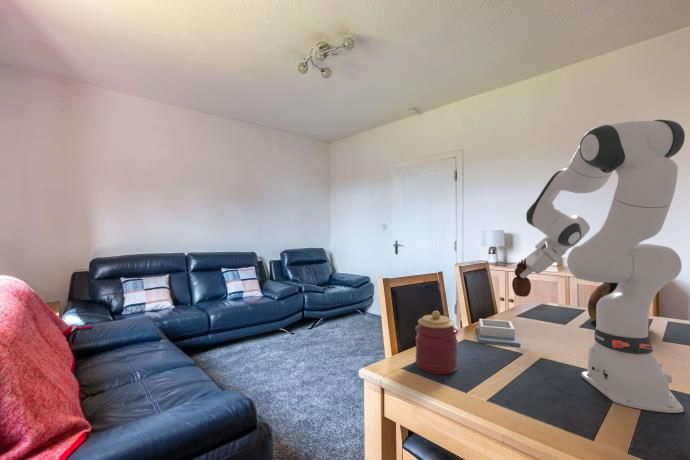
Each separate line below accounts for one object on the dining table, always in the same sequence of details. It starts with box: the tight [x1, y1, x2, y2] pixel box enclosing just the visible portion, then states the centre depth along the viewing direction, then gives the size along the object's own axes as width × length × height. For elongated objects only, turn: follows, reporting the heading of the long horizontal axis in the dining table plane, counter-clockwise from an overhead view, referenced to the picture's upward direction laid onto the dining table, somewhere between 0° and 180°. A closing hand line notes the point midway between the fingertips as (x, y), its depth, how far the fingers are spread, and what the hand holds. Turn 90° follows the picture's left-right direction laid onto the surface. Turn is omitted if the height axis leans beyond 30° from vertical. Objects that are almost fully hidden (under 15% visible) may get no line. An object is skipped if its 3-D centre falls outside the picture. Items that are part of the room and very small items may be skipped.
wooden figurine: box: [511, 257, 532, 298], centre depth 128 cm, size 7×6×15 cm
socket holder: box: [476, 318, 521, 348], centre depth 129 cm, size 18×14×5 cm
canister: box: [415, 310, 459, 375], centre depth 103 cm, size 13×13×18 cm
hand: (519, 275), depth 128 cm, fingers closed on wooden figurine, 5 cm apart
